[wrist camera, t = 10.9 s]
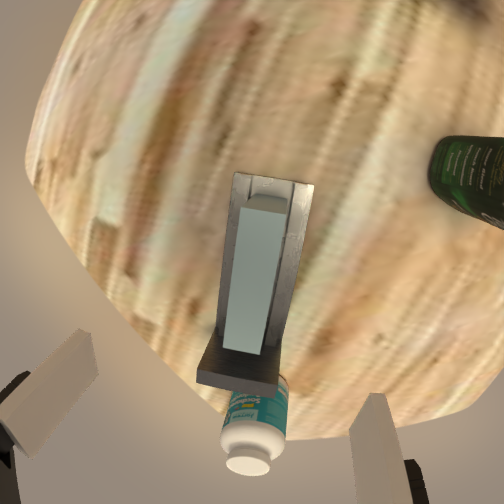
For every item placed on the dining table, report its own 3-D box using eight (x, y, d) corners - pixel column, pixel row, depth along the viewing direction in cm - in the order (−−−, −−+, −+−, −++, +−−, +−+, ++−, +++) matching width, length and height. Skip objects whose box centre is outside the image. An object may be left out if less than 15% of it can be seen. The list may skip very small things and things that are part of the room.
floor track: (235, 172, 29) (214, 176, 21) (313, 185, 28) (323, 194, 20) (215, 337, 35) (196, 382, 27) (278, 349, 35) (274, 398, 26)
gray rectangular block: (255, 193, 29) (240, 207, 20) (287, 199, 29) (286, 214, 20) (239, 300, 33) (222, 347, 24) (267, 306, 32) (259, 354, 24)
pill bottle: (260, 358, 35) (244, 441, 23) (300, 387, 36) (298, 468, 23) (224, 385, 38) (200, 461, 25) (262, 411, 38) (250, 486, 26)
